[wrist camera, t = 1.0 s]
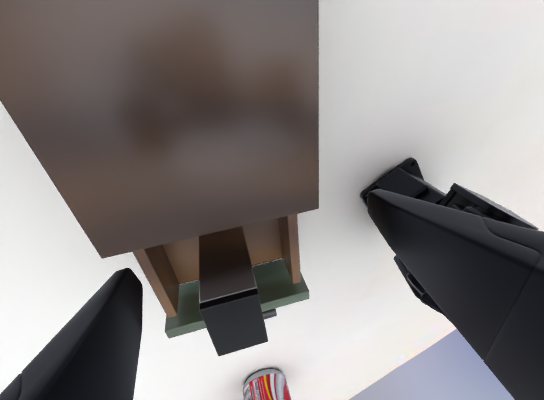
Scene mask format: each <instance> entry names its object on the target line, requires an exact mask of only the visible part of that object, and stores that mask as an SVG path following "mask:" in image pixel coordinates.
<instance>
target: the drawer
mask: <svg viewBox="0 0 544 400" xmlns="http://www.w3.org/2000/svg"><path fill="white" fill-rule="evenodd" d="M242 227H243V231H244V235H245V239H246V244H247V248H248V252H249V256H250V260H251V264H252V265H255V264H259V263H263V262H267V261H271V260H275V259H279V258H283V259H282V260H278V261H274V262H270V263H266V264H262V265H259V266H255V267H252V268H253V272H254V276H255V281H256V285H257V289H258V293H259V298H260V303H261V308H262V313H263V318H264V319H267V318H271V317H274V316H276V315H277V314H276V309H275V308H278V307H281V306H285V305H288V304H292V303H295V302H299V301H302V300H306V299H309V290H308V288H307V285H306V283H305V281H304V279H303V276H302V274H301V272H300V260H299V242H298V225H297V214H293V215H289V216H284V217H280V218H276V219H271V220H267V221H263V222H258V223H254V224H250V225H245V226H242ZM132 252H133V254H134V255H135V257H136V259H137V261H138V263H139V265H140V267H141V268H142V270H143V272H144V274H145V276H146V278H147V279H148V281H149V283H150V285H151V287H152V289H153V291H154V292H155V294H156V296H157V298H158V300H159V302H160V304H161V305H162V307H163V309H164V311H165V313H166V324H165V333H166V334H167V336H168V338H172V337H176V336H179V335H183V334H186V333H190V332H193V331H197V330H200V329H204V328H207V327H206V325H205V323H204V320H203V318H202V315H201V313H200V311H199V304H200V303H199V281H196V282H192V283H188V284H184V285H180V284H181V283H185V282H189V281H193V280H197V279H199V236H198V237H193V238H189V239H184V240H180V241H176V242H171V243H167V244H163V245H158V246H154V247H150V248H145V249H141V250H137V251H132ZM179 285H180V286H179Z"/></svg>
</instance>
